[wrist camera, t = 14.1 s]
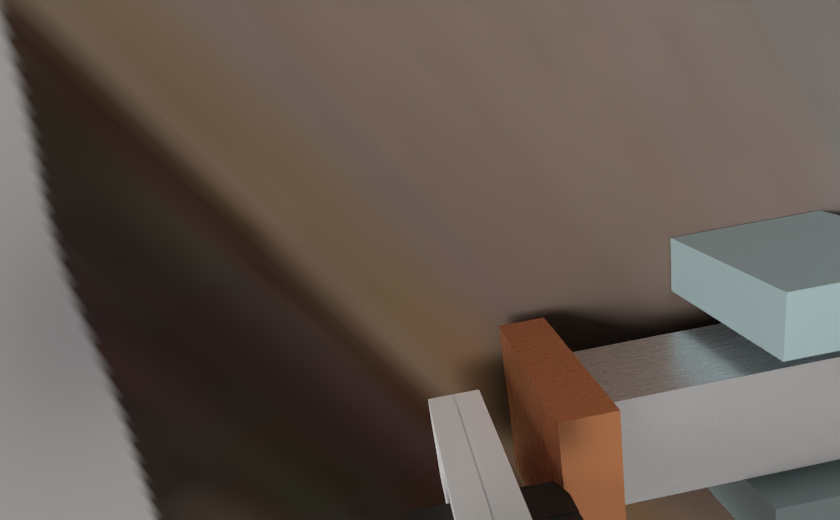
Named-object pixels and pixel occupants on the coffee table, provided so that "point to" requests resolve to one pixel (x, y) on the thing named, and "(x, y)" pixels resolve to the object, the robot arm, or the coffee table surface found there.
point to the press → (771, 330)
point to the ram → (663, 413)
